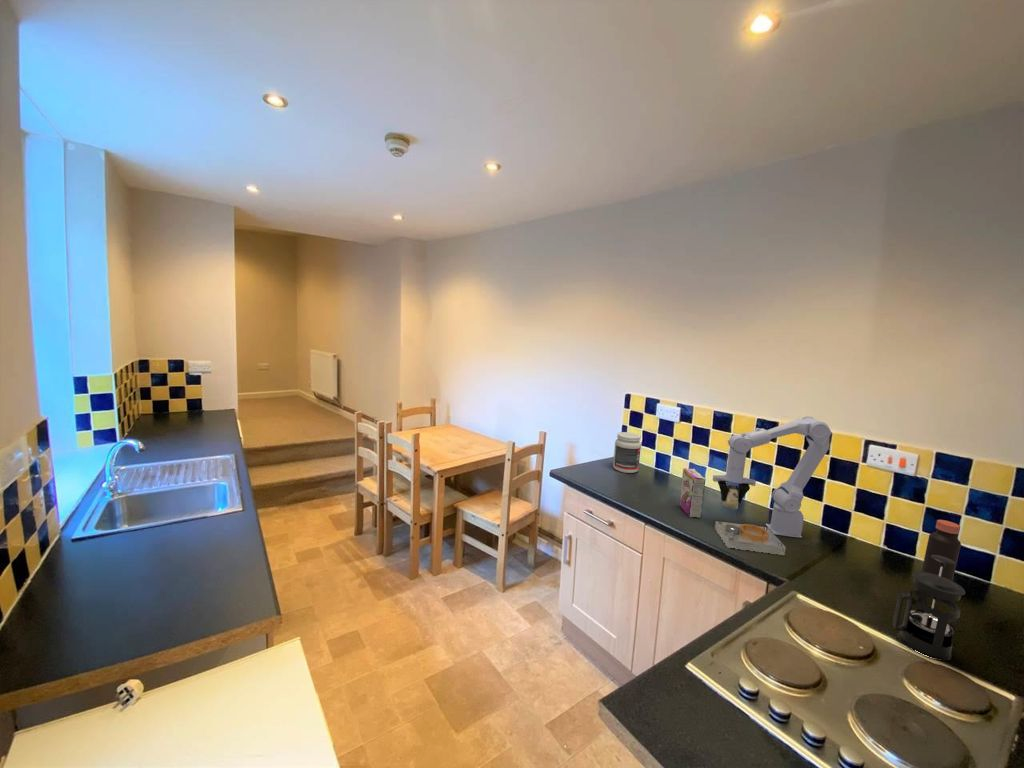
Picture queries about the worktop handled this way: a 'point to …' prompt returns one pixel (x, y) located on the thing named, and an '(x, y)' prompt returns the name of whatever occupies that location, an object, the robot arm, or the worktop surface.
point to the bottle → (942, 548)
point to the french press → (925, 622)
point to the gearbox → (749, 538)
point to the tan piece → (732, 497)
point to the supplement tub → (627, 452)
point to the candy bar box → (692, 492)
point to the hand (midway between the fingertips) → (731, 501)
